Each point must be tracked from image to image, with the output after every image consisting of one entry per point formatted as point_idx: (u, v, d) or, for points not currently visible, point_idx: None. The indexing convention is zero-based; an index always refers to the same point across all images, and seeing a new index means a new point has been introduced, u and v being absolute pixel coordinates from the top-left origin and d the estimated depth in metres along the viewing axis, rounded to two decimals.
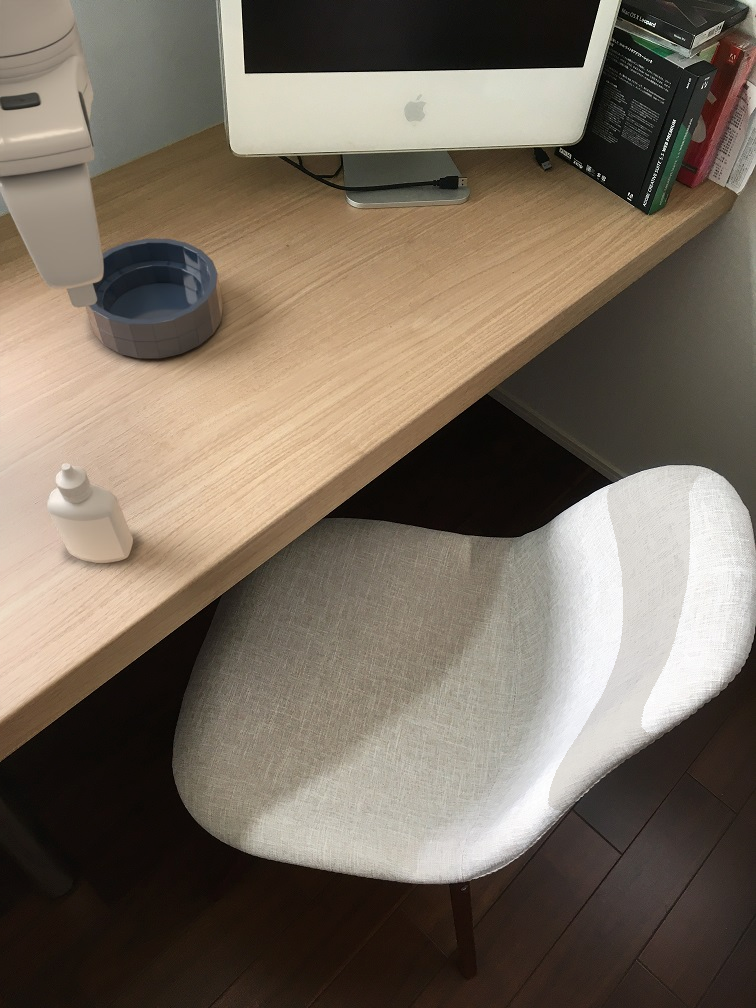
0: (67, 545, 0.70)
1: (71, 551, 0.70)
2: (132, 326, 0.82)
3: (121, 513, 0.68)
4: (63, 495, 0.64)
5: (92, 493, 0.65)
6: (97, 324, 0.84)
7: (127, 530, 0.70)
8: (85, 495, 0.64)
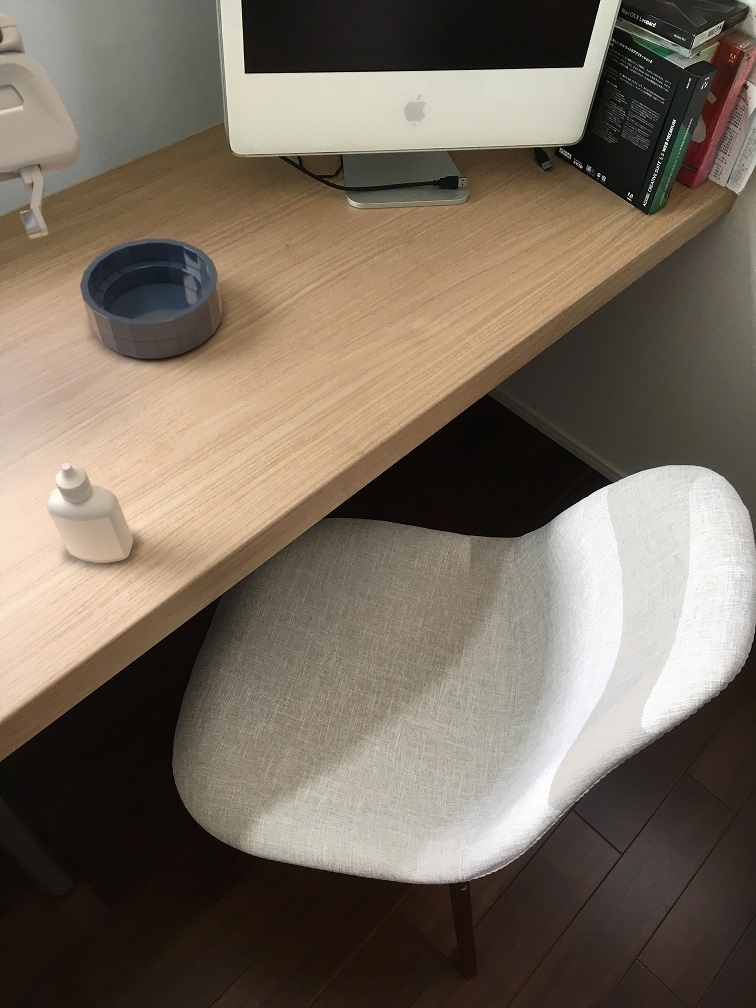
0: (67, 545, 0.70)
1: (71, 551, 0.70)
2: (132, 326, 0.82)
3: (121, 513, 0.68)
4: (63, 495, 0.64)
5: (92, 493, 0.65)
6: (97, 324, 0.84)
7: (127, 530, 0.70)
8: (85, 495, 0.64)
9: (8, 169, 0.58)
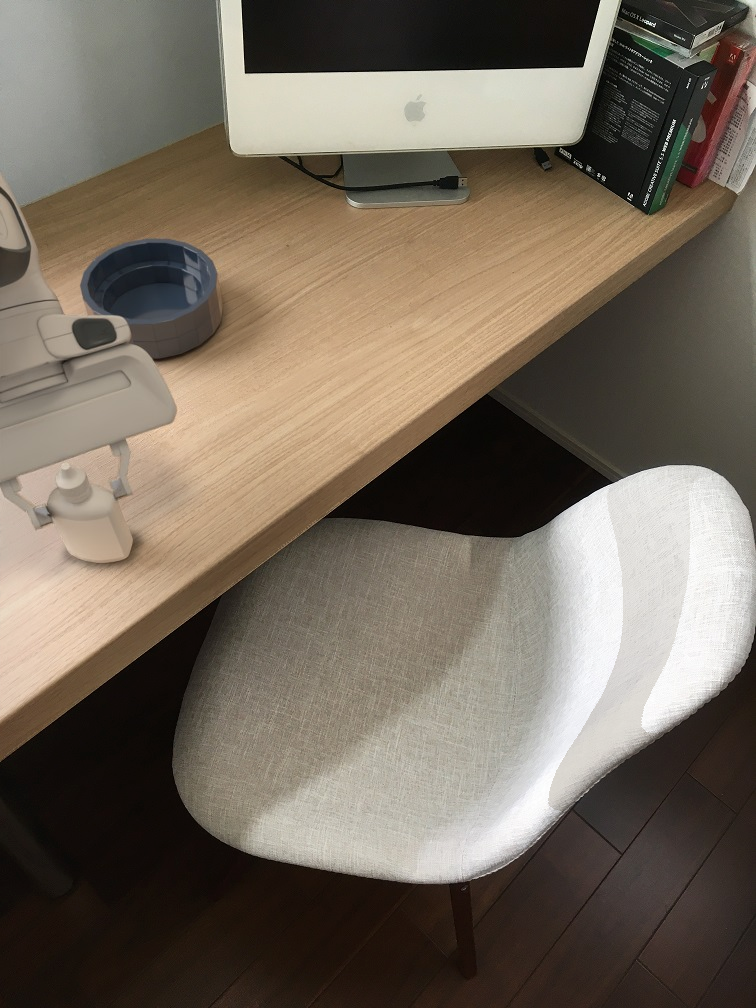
0: (67, 545, 0.70)
1: (71, 551, 0.70)
2: (132, 326, 0.82)
3: (121, 513, 0.68)
4: (63, 495, 0.64)
5: (92, 493, 0.65)
6: None
7: (127, 530, 0.70)
8: (84, 495, 0.64)
9: (117, 441, 0.65)
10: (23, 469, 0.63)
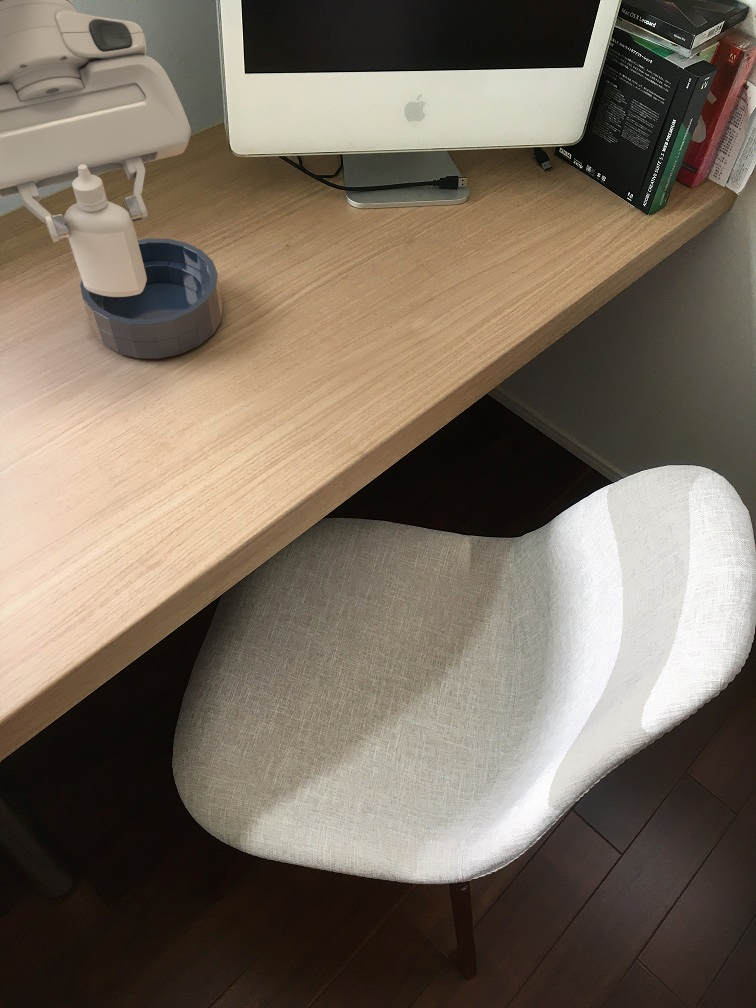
0: (83, 274, 0.71)
1: (86, 282, 0.72)
2: (132, 326, 0.82)
3: (135, 237, 0.69)
4: (79, 202, 0.65)
5: (107, 206, 0.67)
6: (97, 324, 0.84)
7: (141, 261, 0.71)
8: (100, 203, 0.66)
9: (132, 156, 0.67)
10: (41, 171, 0.64)
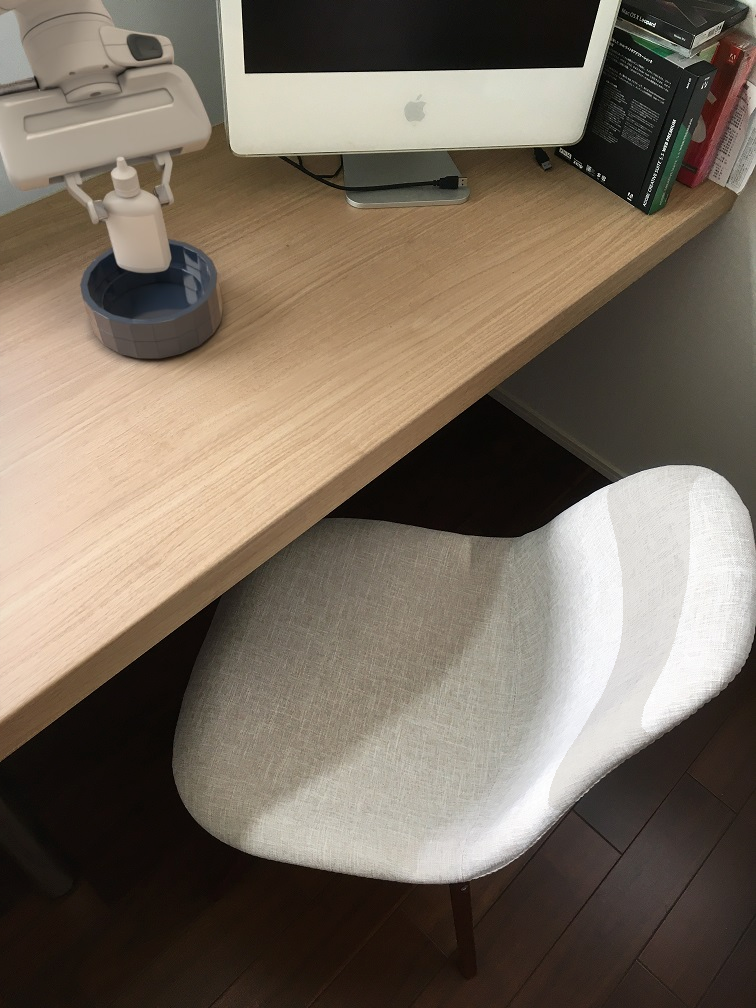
0: (116, 253, 0.82)
1: (119, 260, 0.82)
2: (132, 326, 0.82)
3: (163, 220, 0.80)
4: (117, 189, 0.76)
5: (140, 193, 0.78)
6: (97, 324, 0.84)
7: (167, 242, 0.82)
8: (135, 190, 0.76)
9: (161, 150, 0.78)
10: (85, 163, 0.75)
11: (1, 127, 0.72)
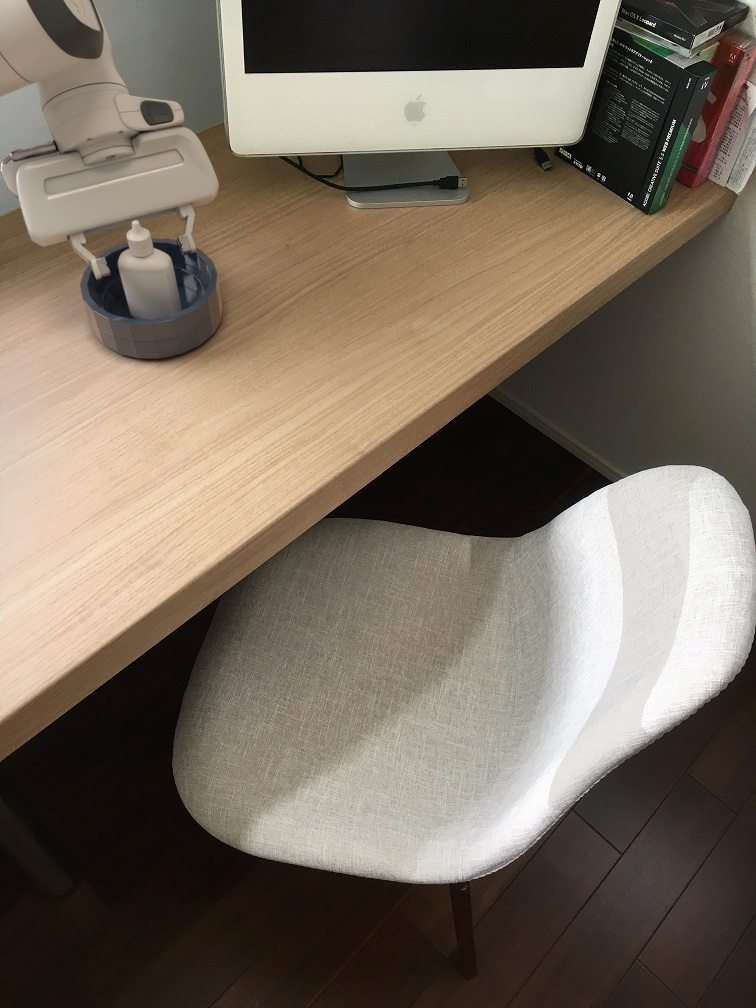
0: (130, 305, 0.87)
1: (133, 311, 0.88)
2: (132, 326, 0.82)
3: (174, 276, 0.86)
4: (132, 249, 0.82)
5: (153, 252, 0.83)
6: (97, 324, 0.84)
7: (178, 294, 0.88)
8: (148, 250, 0.82)
9: (172, 207, 0.83)
10: (101, 220, 0.80)
11: (23, 189, 0.77)
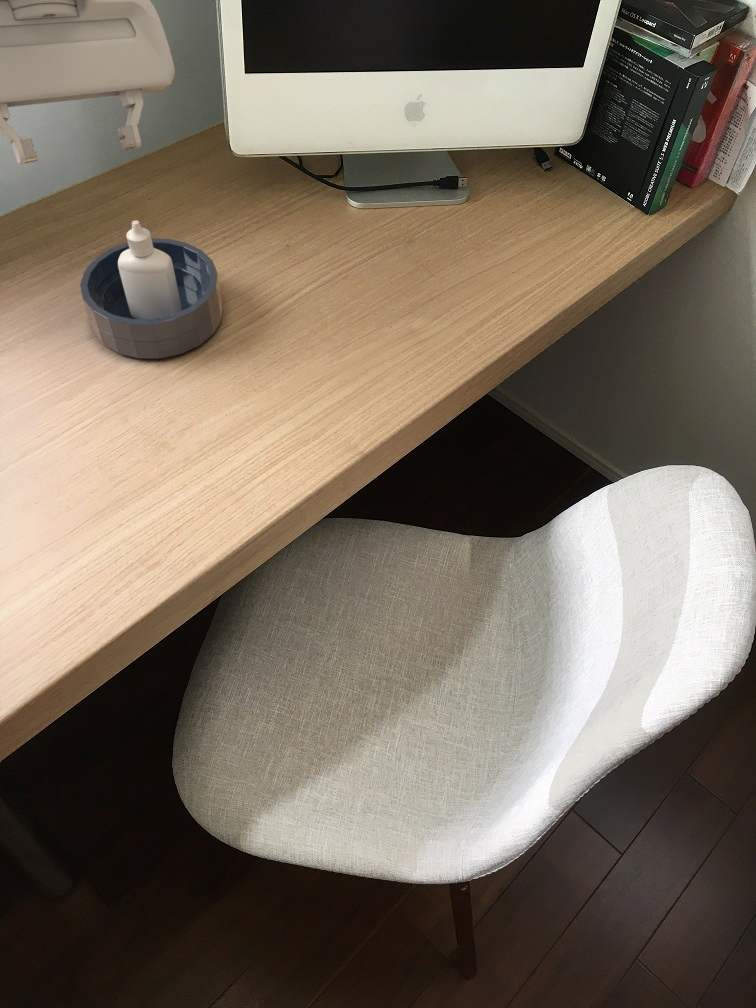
0: (130, 305, 0.87)
1: (133, 311, 0.88)
2: (132, 326, 0.82)
3: (174, 276, 0.86)
4: (132, 249, 0.82)
5: (153, 252, 0.83)
6: (97, 324, 0.84)
7: (178, 294, 0.88)
8: (148, 250, 0.82)
9: (118, 90, 0.70)
10: (31, 93, 0.67)
11: None
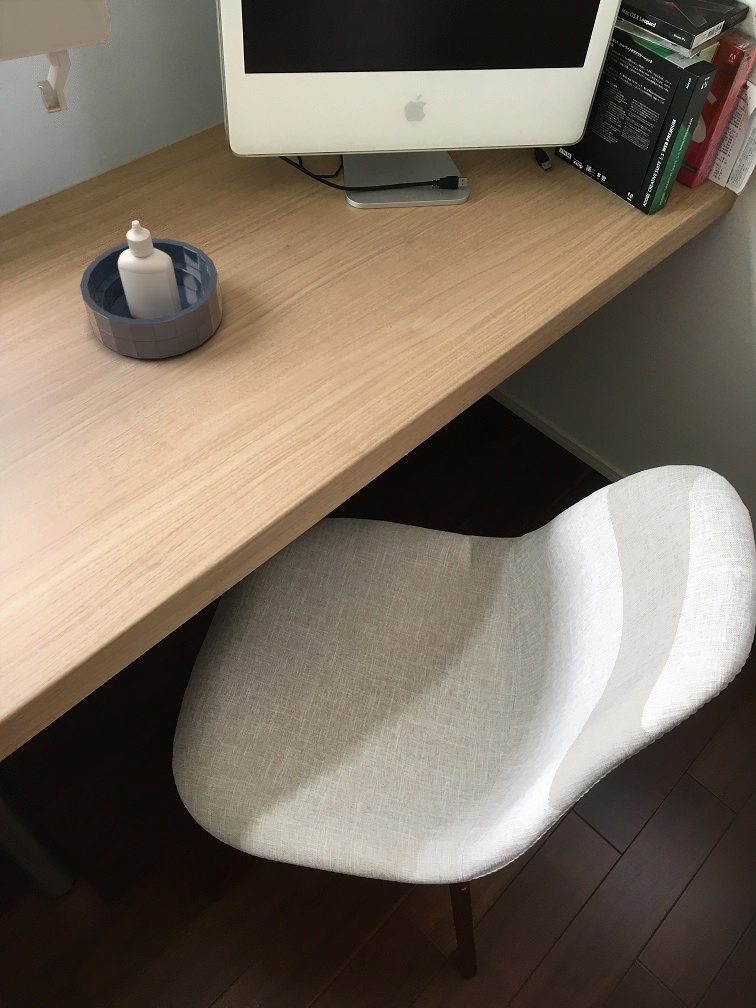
0: (130, 305, 0.87)
1: (133, 311, 0.88)
2: (132, 326, 0.82)
3: (174, 276, 0.86)
4: (132, 249, 0.82)
5: (153, 252, 0.83)
6: (97, 324, 0.84)
7: (178, 294, 0.88)
8: (148, 250, 0.82)
9: (38, 54, 0.57)
10: None
11: None
